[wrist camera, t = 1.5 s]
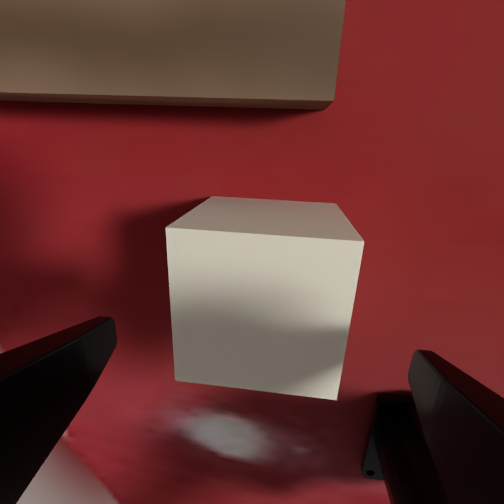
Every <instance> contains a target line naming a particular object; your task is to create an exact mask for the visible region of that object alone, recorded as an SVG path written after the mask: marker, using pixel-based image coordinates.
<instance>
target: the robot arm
mask: <svg viewBox="0 0 504 504" xmlns="http://www.w3.org/2000/svg"><path fill="white" fill-rule="evenodd" d="M116 344H117V336H116V328H115V322H114V319H113V318H111V317H103V316H99V317H96V318H93V319H91V320H88V321H86V322H83V323H80V324H78V325H75V326H72V327H70V328H67V329H65V330H62V331H59V332H57V333H54V334H51V335H49V336H46V337H44V338H41V339H38V340H36V341H33V342H30V343H28V344H25V345H23V346H20V347H17V348H15V349H12V350H9V351H7V352H4V353H2V354H0V504H16V503H17V501H18V500H19V498H20V497H21V495H22V494H23V492H24V491H25V489H26V488H27V486H28V485H29V484H30V482H31V480H32V479H33V478H34V476H35V474H36V473H37V472H38V470H39V469H40V467H41V466H42V464H43V463H44V461H45V460H46V458H47V457H48V455H49V454H50V452H51V451H52V449H53V448H54V446H55V445H56V443H57V442H58V440H59V439H60V438H61V436H62V435H63V433H64V432H65V430H66V429H67V427H68V426H69V424H70V423H71V421H72V420H73V418H74V417H75V415H76V414H77V412H78V411H79V409H80V408H81V406H82V405H83V403H84V402H85V401H86V399H87V397H88V396H89V394H90V393H91V391H92V389H93V388H94V386H95V384H96V383H97V381H98V379H99V377H100V375H101V373H102V371H103V370H104V368H105V366H106V364H107V362H108V360H109V359H110V357H111V355H112V353H113V351H114V349H115V347H116ZM408 380H409V384H410V388H411V392H412V395H413V397H405V396H397V395H388V394H383V395H380V396H379V397H377V399H376V403H375V407H374V412H373V416H372V420H371V425H370V429H369V433H368V437H367V442H366V446H365V450H364V455H363V459H362V463H361V470H362V474H363V475H364V476H365V477H366V478H370V479H377V480H384V481H385V485H386V488H387V492H388V496H389V499H390V503H391V504H504V398H503V397H501V396H500V395H498V394H496V393H495V392H493V391H492V390H490V389H489V388H487V387H486V386H484V385H483V384H481V383H480V382H478V381H477V380H475V379H474V378H472V377H471V376H469V375H468V374H466V373H464V372H463V371H461V370H460V369H458V368H457V367H455V366H454V365H452V364H451V363H449V362H448V361H446V360H445V359H443V358H442V357H440V356H439V355H437V354H436V353H434V352H432V351H427V350H416V351H415V352H414V354H413V357H412V361H411V365H410V369H409V373H408ZM385 403H388V404H385Z"/></svg>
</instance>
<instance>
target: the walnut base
mask: <svg viewBox="0 0 504 504" xmlns="http://www.w3.org/2000/svg"><path fill="white" fill-rule="evenodd" d="M345 3H346V0H0V101H27V102H62V103H97V104H132V105H167V106H202V107H237V108H273V109H308V110H325V109H326V108H327V107H328V106H329V105H330V104H331V103H332V102H333V101H334V96H335V87H336V79H337V71H338V62H339V54H340V45H341V37H342V28H343V20H344V11H345Z"/></svg>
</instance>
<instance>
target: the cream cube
mask: <svg viewBox="0 0 504 504" xmlns="http://www.w3.org/2000/svg"><path fill="white" fill-rule="evenodd" d="M165 228H166V244H167V260H168V275H169V291H170V307H171V323H172V338H173V354H174V370H175V381H183V382H191V383H200V384H208V385H216V386H224V387H232V388H241V389H249V390H257V391H265V392H273V393H281V394H290V395H298V396H306V397H314V398H322V399H330V400H337V396H338V390H339V384H340V378H341V373H342V367H343V361H344V355H345V350H346V344H347V338H348V333H349V327H350V321H351V315H352V310H353V304H354V298H355V292H356V287H357V281H358V275H359V270H360V264H361V258H362V252H363V247H364V240H363V239H362V238H361V236H360V235H359V234H358V232H357V231H356V230H355V228H354V227H353V226H352V224H351V223H350V222H349V220H348V219H347V218H346V216H345V215H344V214H343V213H342V211H341V210H340V209H339V207H338V206H337V205H336V203H319V202H302V201H285V200H268V199H251V198H234V197H217V196H211V197H210V198H209V199H207V200H206V201H204V202H203V203H201V204H200V205H198V206H197V207H195V208H194V209H192V210H191V211H189V212H188V213H186V214H185V215H183V216H182V217H180V218H179V219H177V220H176V221H174V222H173V223H171V224H170V225H168V226H167V227H165Z"/></svg>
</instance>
